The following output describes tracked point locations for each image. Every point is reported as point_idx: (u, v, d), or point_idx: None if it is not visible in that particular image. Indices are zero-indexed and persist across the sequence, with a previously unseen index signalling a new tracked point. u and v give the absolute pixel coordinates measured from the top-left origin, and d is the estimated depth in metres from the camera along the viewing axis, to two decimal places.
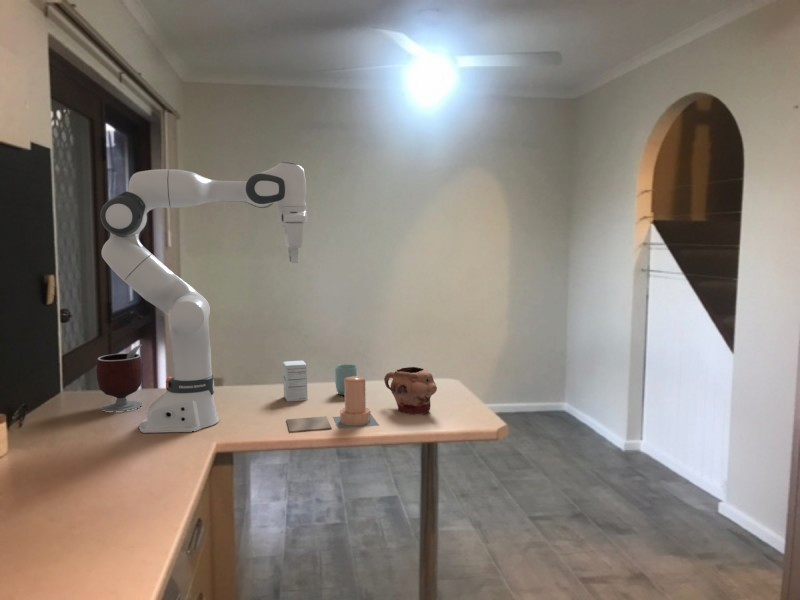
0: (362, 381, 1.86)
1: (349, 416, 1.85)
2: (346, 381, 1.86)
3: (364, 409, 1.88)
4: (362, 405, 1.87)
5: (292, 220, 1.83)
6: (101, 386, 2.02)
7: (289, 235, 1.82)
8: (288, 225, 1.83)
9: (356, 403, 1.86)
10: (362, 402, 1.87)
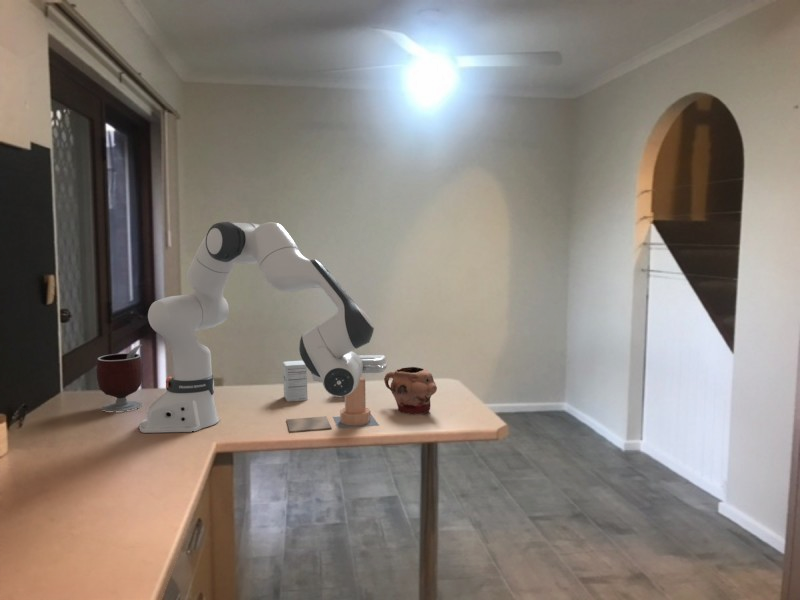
0: (362, 381, 1.86)
1: (349, 416, 1.85)
2: None
3: (364, 409, 1.88)
4: (362, 405, 1.87)
5: None
6: (101, 386, 2.02)
7: None
8: None
9: (356, 403, 1.86)
10: (362, 402, 1.87)
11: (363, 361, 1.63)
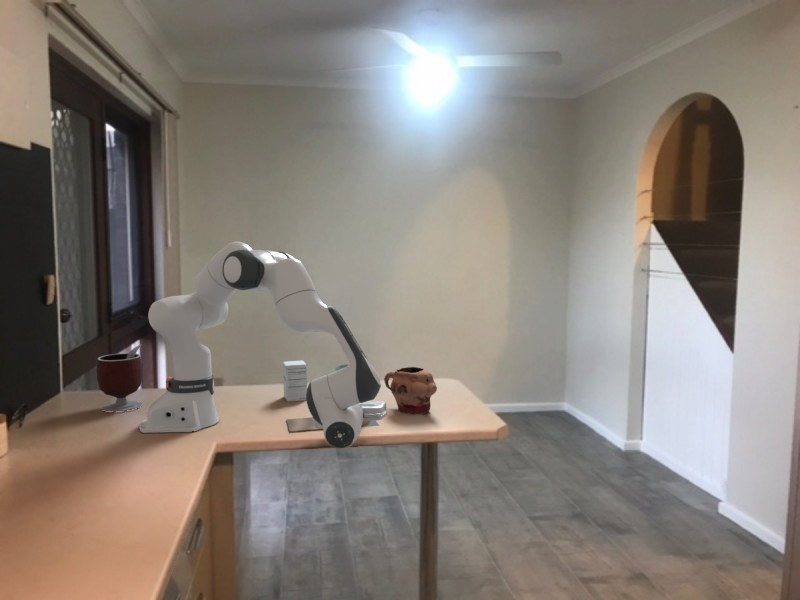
0: None
1: None
2: None
3: None
4: None
5: None
6: (101, 386, 2.02)
7: None
8: None
9: None
10: None
11: (364, 409, 1.67)
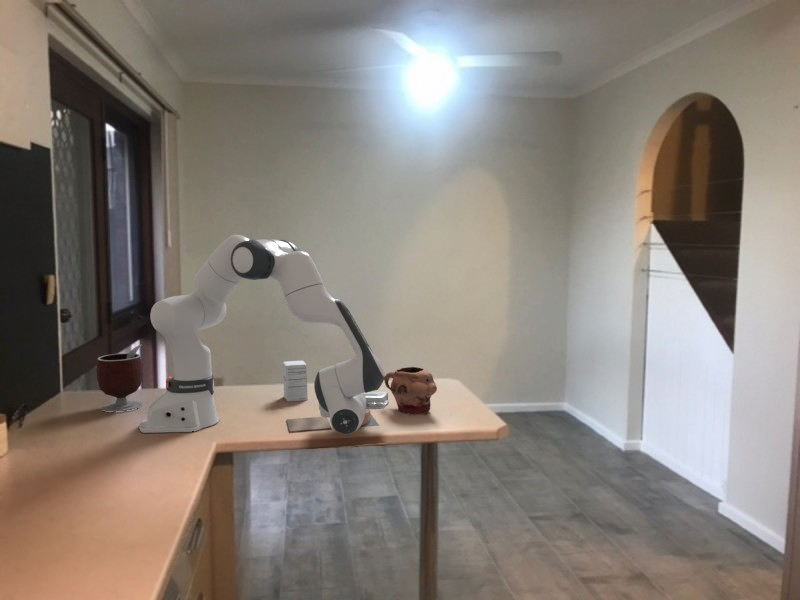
0: None
1: None
2: None
3: None
4: None
5: None
6: (101, 386, 2.02)
7: None
8: None
9: None
10: None
11: (367, 398, 1.77)
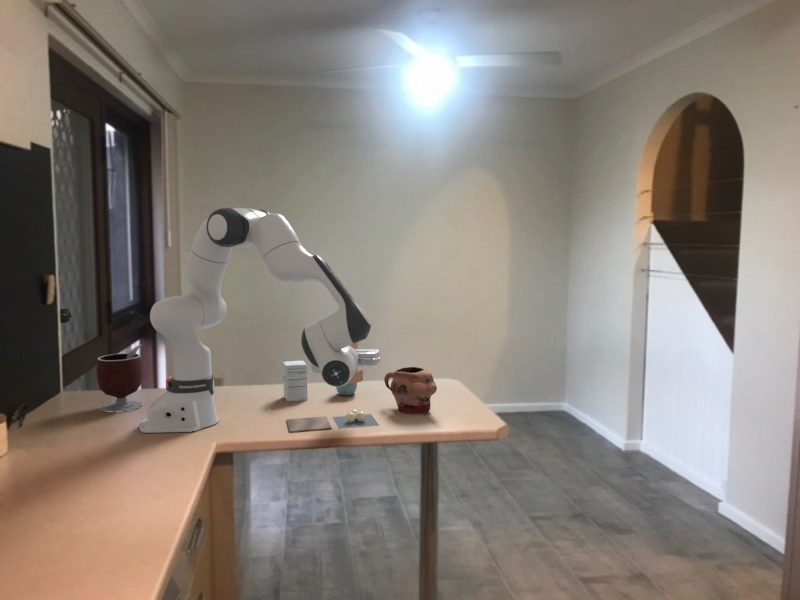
0: None
1: None
2: None
3: None
4: None
5: None
6: (101, 386, 2.02)
7: None
8: None
9: None
10: None
11: (359, 354, 1.75)
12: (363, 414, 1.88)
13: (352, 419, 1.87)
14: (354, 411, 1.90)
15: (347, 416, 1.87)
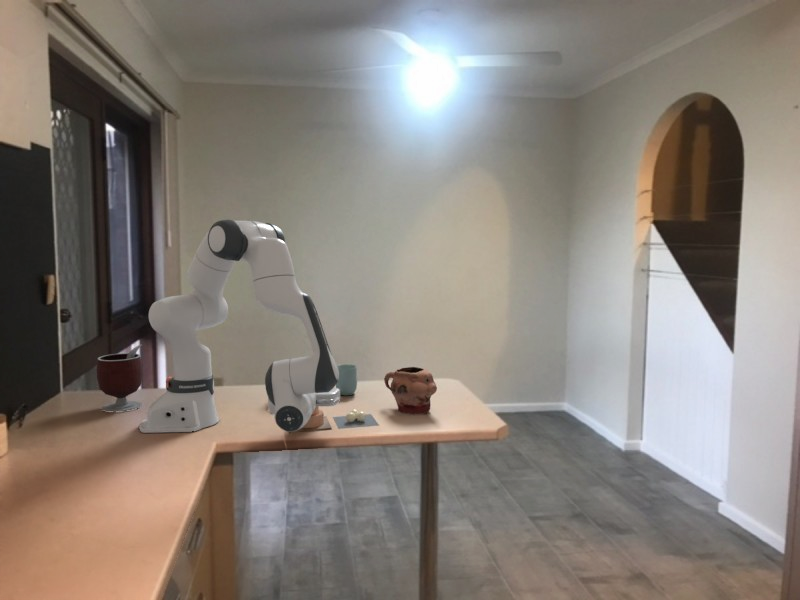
0: None
1: None
2: None
3: (317, 411, 1.84)
4: None
5: None
6: (101, 386, 2.02)
7: None
8: None
9: None
10: None
11: (317, 395, 1.74)
12: (363, 414, 1.88)
13: (352, 419, 1.87)
14: (354, 411, 1.90)
15: (347, 416, 1.87)
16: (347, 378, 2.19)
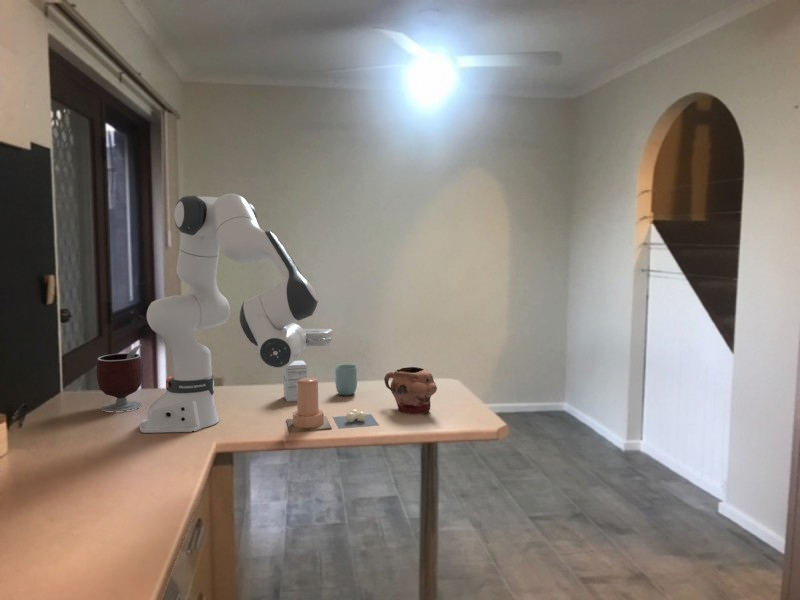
0: (314, 383, 1.83)
1: (300, 418, 1.81)
2: (298, 383, 1.83)
3: (317, 411, 1.84)
4: (314, 407, 1.83)
5: None
6: (101, 386, 2.02)
7: None
8: None
9: (308, 405, 1.82)
10: (314, 404, 1.83)
11: (307, 334, 1.59)
12: (363, 414, 1.88)
13: (352, 419, 1.87)
14: (354, 411, 1.90)
15: (347, 416, 1.87)
16: (347, 378, 2.19)
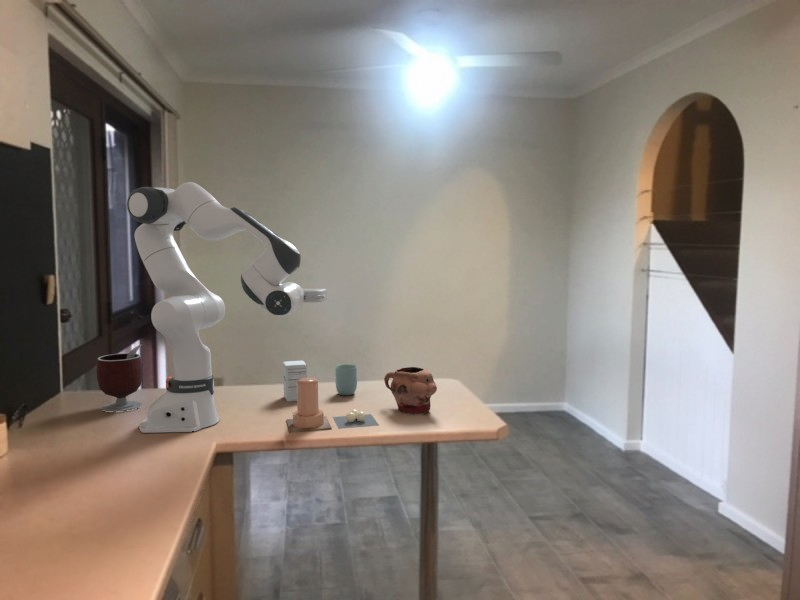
0: (314, 383, 1.83)
1: (300, 418, 1.81)
2: (298, 383, 1.83)
3: (317, 411, 1.84)
4: (314, 407, 1.83)
5: None
6: (101, 386, 2.02)
7: None
8: None
9: (308, 405, 1.82)
10: (314, 404, 1.83)
11: (305, 291, 1.88)
12: (363, 414, 1.88)
13: (352, 419, 1.87)
14: (354, 411, 1.90)
15: (347, 416, 1.87)
16: (347, 378, 2.19)
